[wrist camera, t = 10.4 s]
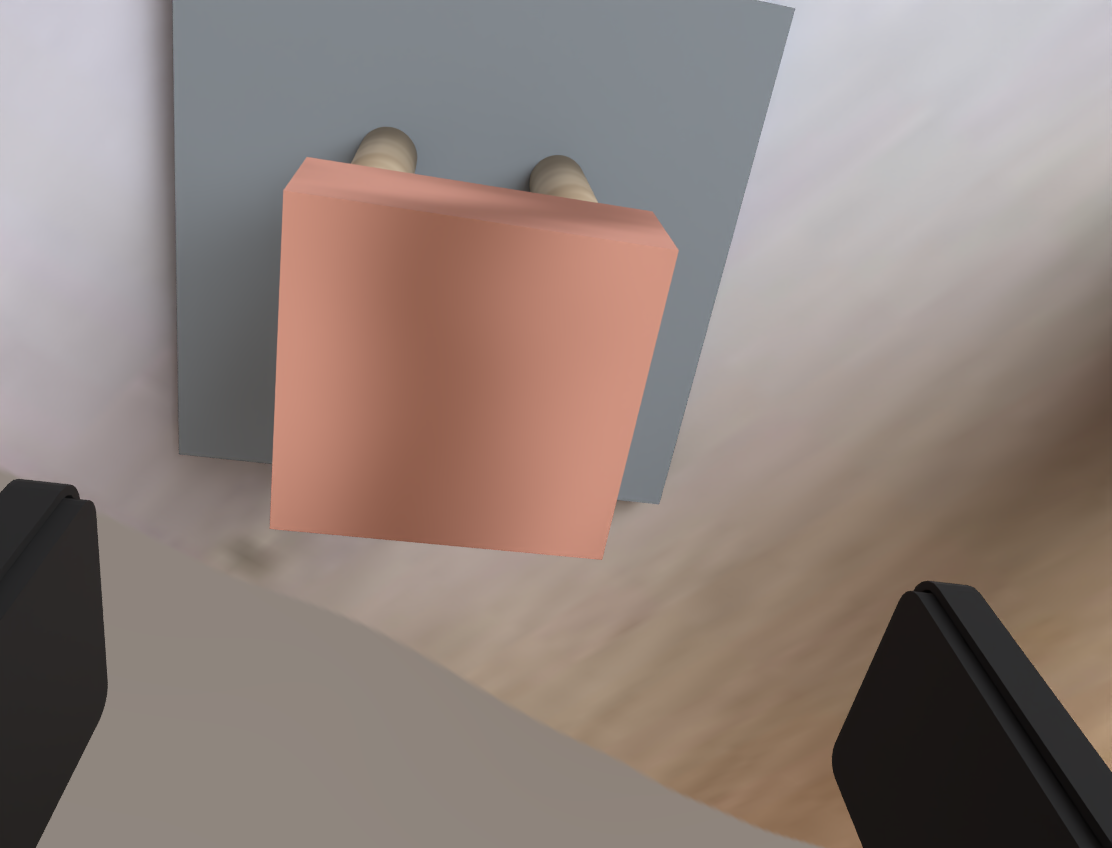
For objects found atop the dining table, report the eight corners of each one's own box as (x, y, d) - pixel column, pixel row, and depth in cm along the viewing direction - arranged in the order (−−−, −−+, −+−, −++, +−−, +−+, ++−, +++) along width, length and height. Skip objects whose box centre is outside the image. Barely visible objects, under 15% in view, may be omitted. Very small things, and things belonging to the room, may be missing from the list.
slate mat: (782, 5, 22) (794, 8, 21) (653, 486, 29) (659, 504, 28) (183, -115, 20) (170, -117, 19) (188, 436, 26) (178, 454, 25)
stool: (608, 146, 22) (679, 250, 15) (562, 377, 25) (601, 559, 18) (345, 102, 21) (283, 190, 14) (328, 348, 24) (269, 528, 17)
